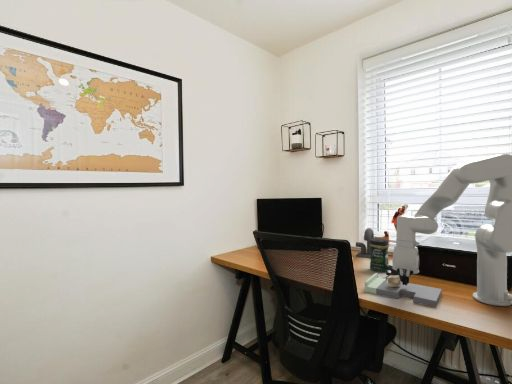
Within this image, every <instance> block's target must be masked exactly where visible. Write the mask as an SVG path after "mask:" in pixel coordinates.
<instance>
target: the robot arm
mask: <svg viewBox="0 0 512 384" xmlns="http://www.w3.org/2000/svg"><path fill="white" fill-rule="evenodd" d="M486 181H487V182H488V181H489V184H490V185H489V192H488V197H487V201H486V204H485V208H484V215H485V217H486V218H487V219H488V220H490V221H492V222H494V224H491V223H490V224H489V223H487V224H483V225H481V226H479V227H478V228H477V229H476V231H475V235H474V239H475V245H476V254H477V256H476V257H477V259H476V292H473V293H472V298H473V299H474V300H476V301H478V302H480V303H483V304H485V305H490V306H495V307H496V306H497V307H509V306H511V305H512V294H511V293H509V291H508V285H507V283H508V281H507V279H508V275H507V274H508V256H507V254H509V253H512V154H509V153H502V154H495V155H489V156H486V157H484V158H482V159H480V160H479V159H478V160H475V161H468V162H465V163H464V162H463V163H458V164H456V165H454V167H452V169H451V170H450V171H449V173H448V174H447V175H446V176H445V178H444V179H443V180H442V182H441V183H440V185H439V186H438V188H437V189H436V190H435V191H434V193H432V194H431V196H430V197H428V198H427V200H426V201H424V202H423V203H422V205H421V206H420V207H419V209H418V210H417V211H416V213H415V215H406V214H405V215H398V216H397V217H396V240H395V241H396V242H395V244H394V247H393V251H392V263H391V264H392V265H391V266H392V269H394V270H397V271H398V272H399V273H400V275H401V278H400V281H401V282H402V285H407V284H408V283H410V276H411V275H415V274H419V273H420V270H419V269H420V268H419V267H420V255H419V249H418V248H419V247H417V246H420V242H419V241H417V240H416V237H417V236H416V234H417V233H418V234H423V235H432V234H435V233H436V232H437V230H438V229H439V223H438V221H437V220H436V219H435V218H436V217H437V216H438V215H439V213H440V212H441V211H442V210H445V209H446V208H448V207H451V206H452V205H454V204H456V203H457V201H458V200H459V198H461V196H462V195H463V193H464V192H465V190H466V189H467V188H468V186H469V185H470V184H479V183H484V182H486ZM404 269H405V270H407V273H406V275H405V273H404Z"/></svg>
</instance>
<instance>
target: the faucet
mask: <svg viewBox="0 0 512 384" xmlns="http://www.w3.org/2000/svg"><path fill="white" fill-rule="evenodd" d="M373 237H375V234H374V230H373V229H372V228H370V227H368V228H366V229H365V230H364V234H363V240H364V241H366V244H365V243H364V242H359V241H356V242H355V247H356V248H360V251H358V253H356V255H355V258H363V259H370V260H371V247H370V240H371V238H373Z"/></svg>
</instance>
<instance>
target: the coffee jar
mask: <svg viewBox="0 0 512 384" xmlns="http://www.w3.org/2000/svg"><path fill="white" fill-rule="evenodd" d="M370 247H371V259H370V261H369V269H370V271H374V272H376V273H386V272H389V271H390V270H386V266H387V265H390V263H389V254H388V253H389V247H390V242H389V239H388V238H382V237H376V236H374V237H373V238H371V240H370Z"/></svg>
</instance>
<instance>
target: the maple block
mask: <svg viewBox="0 0 512 384" xmlns="http://www.w3.org/2000/svg"><path fill="white" fill-rule="evenodd" d="M386 281H387V282H388V284H389V287H399V286H400V285H401V282H400V281H401V278H400V277H399V275H390V276H389V277H386Z"/></svg>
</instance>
